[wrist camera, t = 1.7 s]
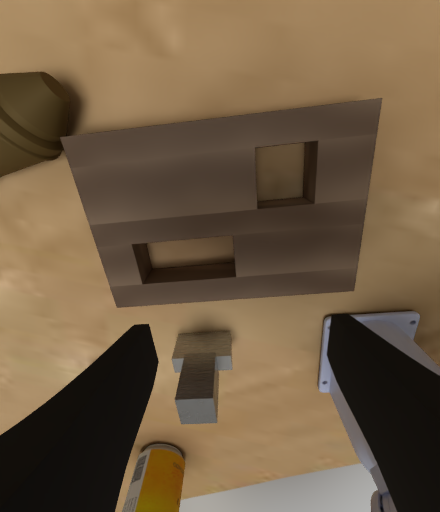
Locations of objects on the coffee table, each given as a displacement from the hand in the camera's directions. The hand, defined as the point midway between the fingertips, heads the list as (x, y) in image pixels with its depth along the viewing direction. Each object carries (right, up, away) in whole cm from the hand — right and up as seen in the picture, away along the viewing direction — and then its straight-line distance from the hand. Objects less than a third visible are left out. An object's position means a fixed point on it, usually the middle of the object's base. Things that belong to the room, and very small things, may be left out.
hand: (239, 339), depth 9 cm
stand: (0, +6, +8) cm, 11 cm away
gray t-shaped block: (-2, -5, +13) cm, 14 cm away
